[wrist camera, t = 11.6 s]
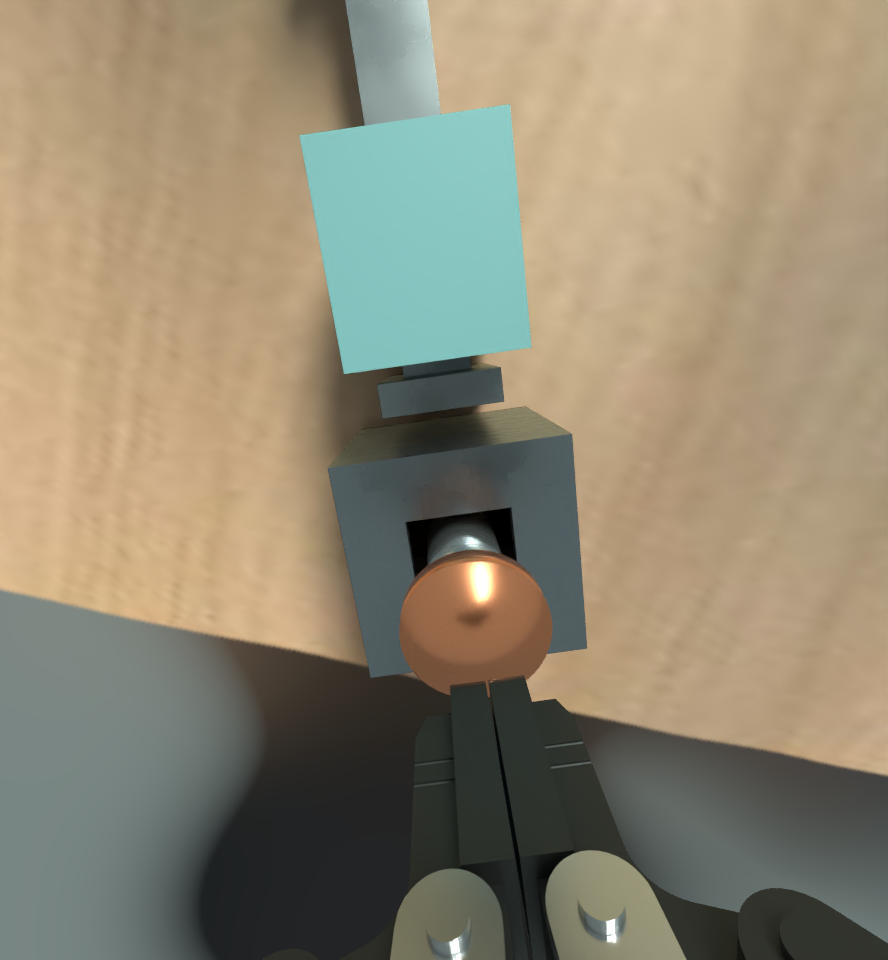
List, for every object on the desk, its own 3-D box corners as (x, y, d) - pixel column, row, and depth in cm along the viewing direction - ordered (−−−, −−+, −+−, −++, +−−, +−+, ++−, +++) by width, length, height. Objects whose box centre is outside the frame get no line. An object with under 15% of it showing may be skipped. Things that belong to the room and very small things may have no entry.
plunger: (402, 495, 19) (387, 574, 12) (505, 481, 19) (545, 552, 12) (418, 589, 20) (411, 707, 13) (515, 575, 20) (558, 687, 13)
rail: (313, -95, 18) (260, -298, 13) (429, -112, 18) (428, -325, 13) (394, 401, 23) (382, 418, 18) (485, 388, 23) (504, 401, 17)
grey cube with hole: (361, 429, 24) (327, 468, 16) (525, 406, 24) (571, 433, 16) (388, 579, 26) (370, 677, 18) (540, 558, 26) (586, 648, 18)
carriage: (348, 214, 20) (299, 135, 12) (480, 195, 20) (509, 104, 12) (374, 366, 21) (344, 374, 14) (496, 348, 21) (531, 347, 14)
